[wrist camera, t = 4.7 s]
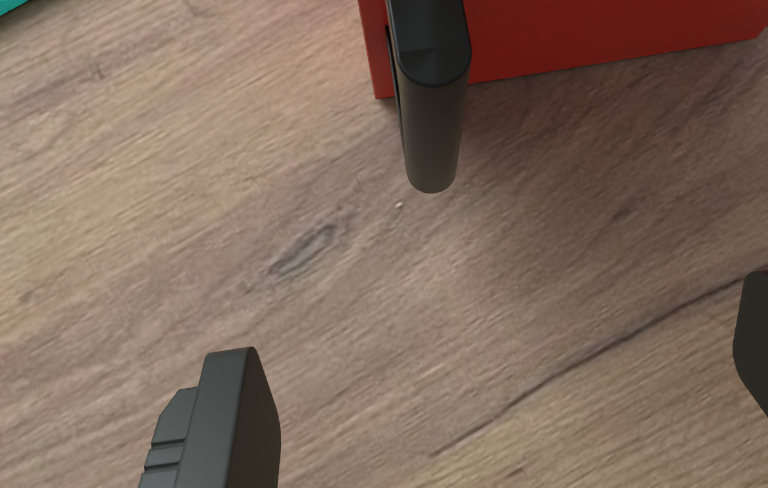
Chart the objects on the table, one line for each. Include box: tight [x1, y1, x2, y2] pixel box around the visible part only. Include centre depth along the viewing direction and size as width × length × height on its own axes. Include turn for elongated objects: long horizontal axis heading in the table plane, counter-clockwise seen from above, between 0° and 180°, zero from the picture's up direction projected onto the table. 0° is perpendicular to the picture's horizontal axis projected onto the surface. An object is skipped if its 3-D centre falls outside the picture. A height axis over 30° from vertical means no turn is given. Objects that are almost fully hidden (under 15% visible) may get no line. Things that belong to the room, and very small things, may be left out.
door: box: [358, 0, 768, 194], centre depth 18 cm, size 6×15×16 cm, turn 98°
